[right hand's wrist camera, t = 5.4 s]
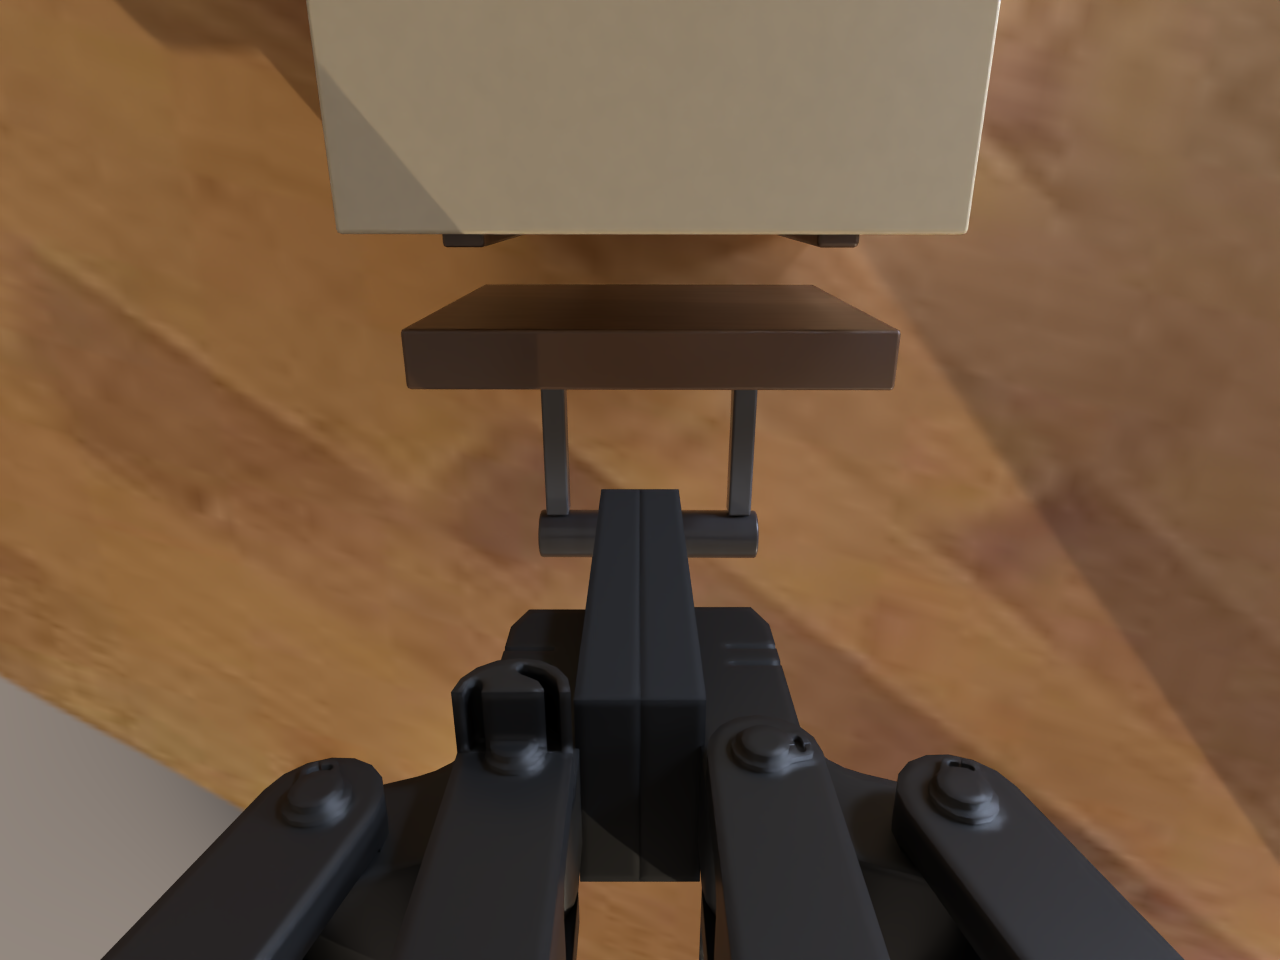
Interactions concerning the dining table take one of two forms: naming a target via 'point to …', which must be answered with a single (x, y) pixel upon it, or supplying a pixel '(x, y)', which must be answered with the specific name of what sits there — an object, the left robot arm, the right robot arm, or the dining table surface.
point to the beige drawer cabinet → (652, 115)
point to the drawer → (651, 367)
